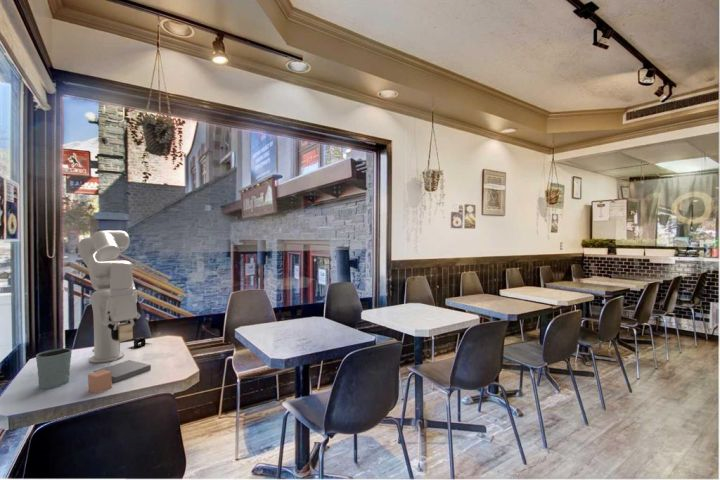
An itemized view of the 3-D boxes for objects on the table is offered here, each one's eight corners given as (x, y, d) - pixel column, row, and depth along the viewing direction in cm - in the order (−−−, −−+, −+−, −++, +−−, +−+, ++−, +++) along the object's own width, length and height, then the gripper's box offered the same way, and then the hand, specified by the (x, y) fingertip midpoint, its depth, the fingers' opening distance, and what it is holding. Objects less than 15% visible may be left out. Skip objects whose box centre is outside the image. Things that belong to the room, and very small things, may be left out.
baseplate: (93, 376, 140) (93, 371, 140) (129, 364, 152) (129, 360, 152) (115, 382, 134) (115, 377, 134) (150, 369, 147) (150, 364, 147)
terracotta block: (88, 391, 127) (88, 374, 127) (103, 385, 131) (103, 369, 131) (96, 393, 125) (96, 376, 125) (111, 387, 129) (111, 371, 129)
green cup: (30, 391, 127) (29, 358, 127) (46, 380, 136) (45, 349, 136) (63, 387, 130) (63, 355, 129) (77, 377, 139) (76, 346, 139)
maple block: (112, 340, 142) (112, 325, 141) (125, 337, 146) (124, 322, 146) (120, 341, 139) (119, 326, 139) (132, 338, 144) (132, 323, 144)
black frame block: (132, 351, 171) (132, 342, 171) (122, 350, 174) (122, 340, 174) (155, 344, 183) (155, 335, 182) (146, 342, 185) (145, 334, 185)
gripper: (136, 289, 152) (137, 331, 152) (92, 295, 136) (93, 342, 137) (148, 290, 149) (148, 333, 149) (104, 296, 133) (105, 344, 133)
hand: (122, 337), depth 143 cm, fingers closed on maple block, 4 cm apart
